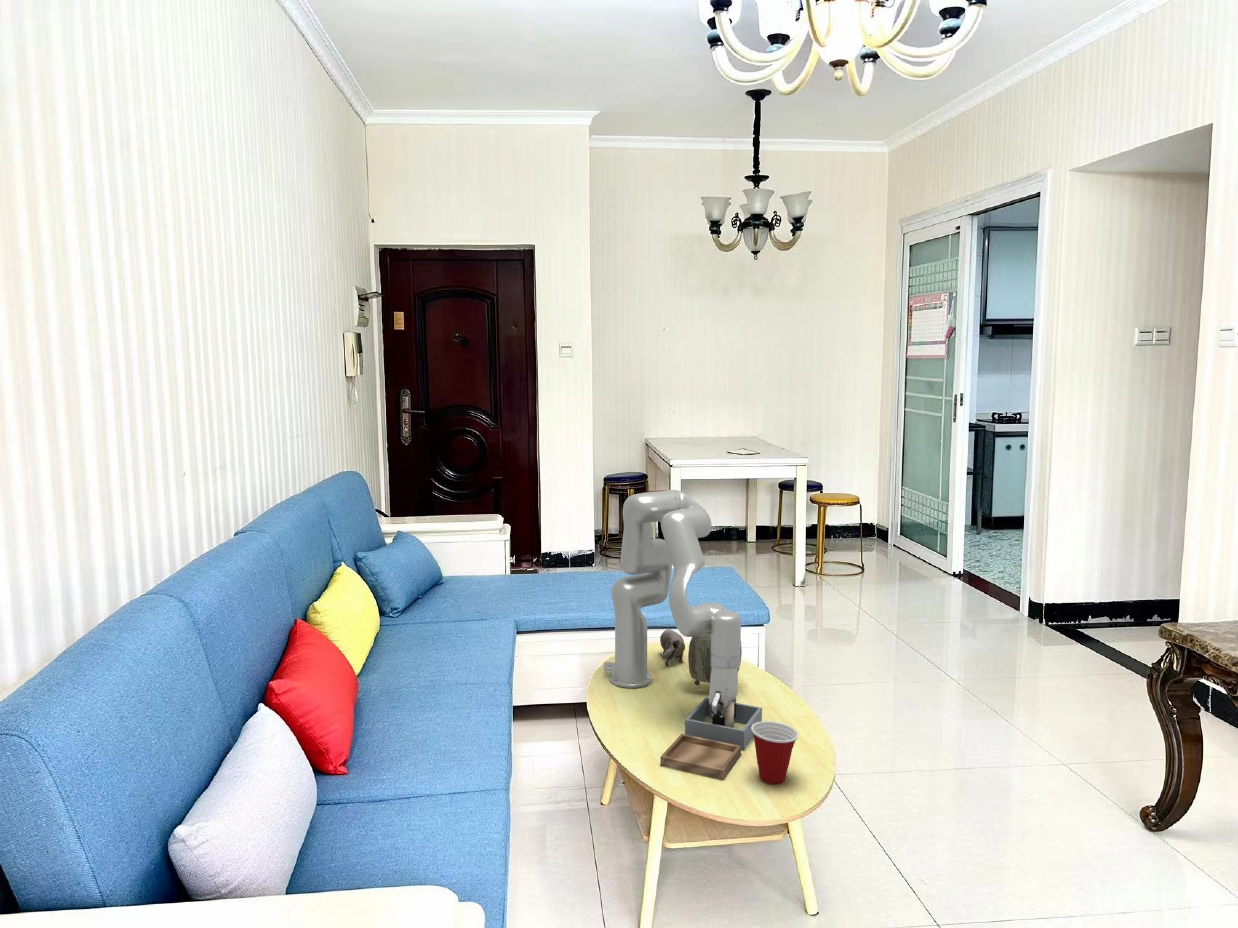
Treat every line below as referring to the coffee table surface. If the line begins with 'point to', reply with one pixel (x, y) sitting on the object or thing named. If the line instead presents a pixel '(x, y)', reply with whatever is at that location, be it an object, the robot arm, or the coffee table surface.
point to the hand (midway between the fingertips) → (724, 723)
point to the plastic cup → (773, 749)
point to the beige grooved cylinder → (728, 715)
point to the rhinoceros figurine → (672, 645)
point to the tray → (701, 756)
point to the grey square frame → (723, 733)
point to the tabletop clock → (701, 658)
